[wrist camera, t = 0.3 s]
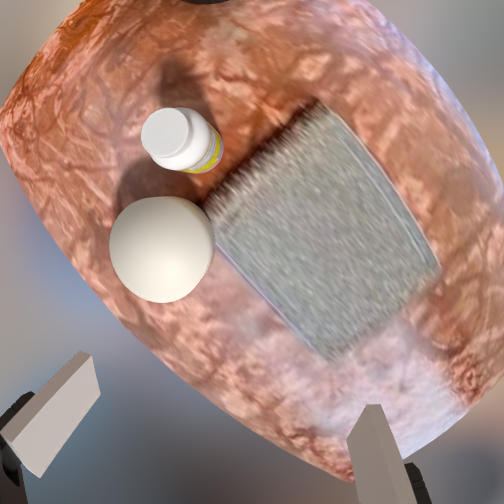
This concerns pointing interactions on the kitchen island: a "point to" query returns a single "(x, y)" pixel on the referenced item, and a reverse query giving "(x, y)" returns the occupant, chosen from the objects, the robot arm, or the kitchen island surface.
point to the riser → (162, 247)
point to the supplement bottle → (181, 140)
